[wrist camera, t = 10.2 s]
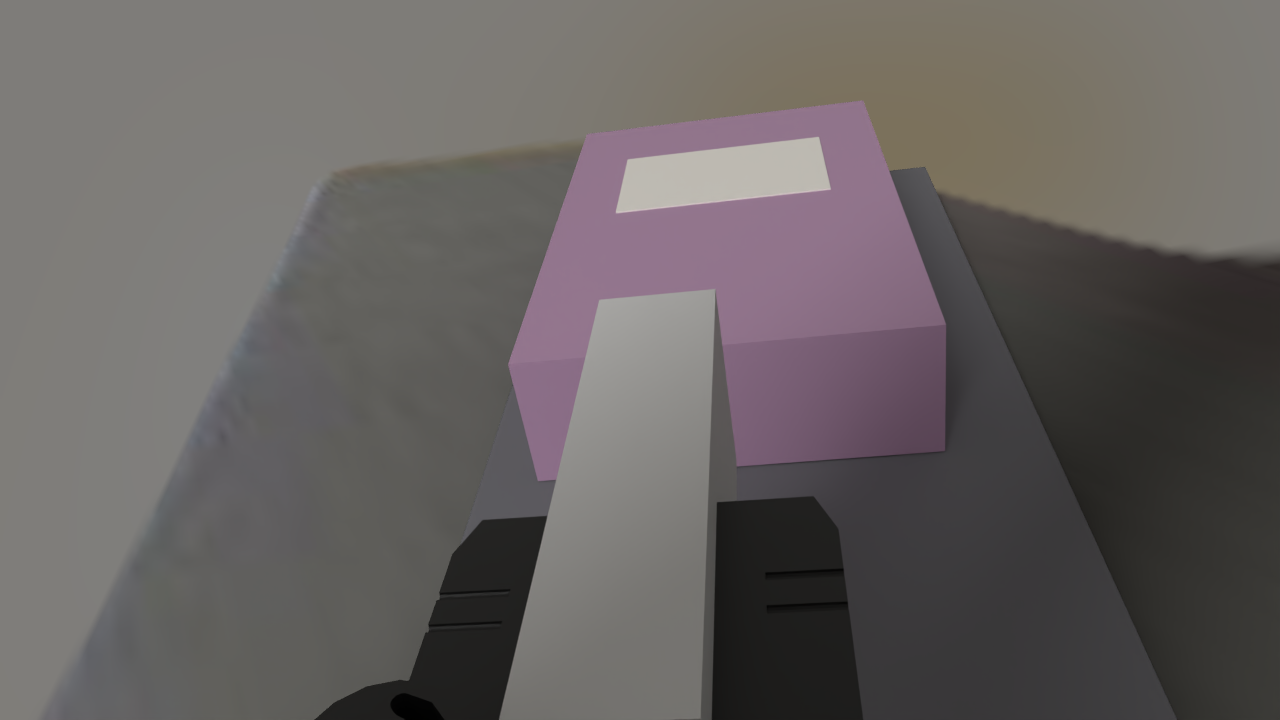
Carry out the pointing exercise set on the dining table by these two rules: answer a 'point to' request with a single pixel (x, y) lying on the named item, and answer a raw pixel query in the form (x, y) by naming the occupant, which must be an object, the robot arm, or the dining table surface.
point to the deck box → (750, 282)
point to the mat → (946, 538)
